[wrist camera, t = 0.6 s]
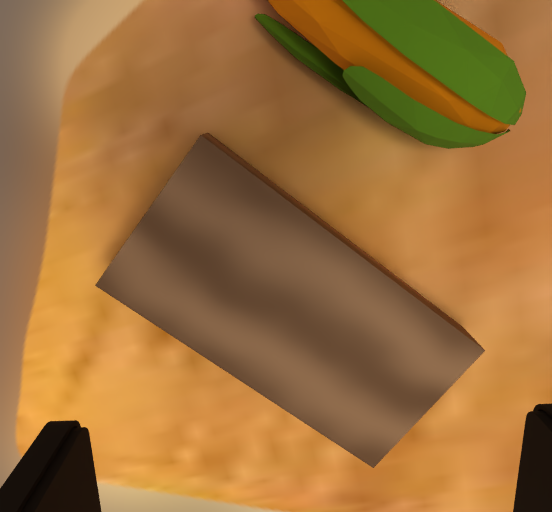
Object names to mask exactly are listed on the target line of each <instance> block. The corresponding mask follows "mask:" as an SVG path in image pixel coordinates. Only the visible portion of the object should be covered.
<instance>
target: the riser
mask: <svg viewBox="0 0 552 512" xmlns="http://www.w3.org/2000/svg"><path fill="white" fill-rule="evenodd" d="M95 286H97V287H98V288H100V289H101V290H103V291H104V292H106V293H107V294H109V295H110V296H112V297H114V298H115V299H117V300H118V301H120V302H121V303H123V304H124V305H126V306H127V307H129V308H130V309H132V310H133V311H135V312H136V313H138V314H139V315H141V316H142V317H144V318H146V319H147V320H149V321H150V322H152V323H153V324H155V325H156V326H158V327H159V328H161V329H162V330H164V331H165V332H167V333H168V334H170V335H171V336H173V337H174V338H176V339H178V340H179V341H181V342H182V343H184V344H185V345H187V346H188V347H190V348H191V349H193V350H194V351H196V352H197V353H199V354H200V355H202V356H203V357H205V358H206V359H208V360H210V361H211V362H213V363H214V364H216V365H217V366H219V367H220V368H222V369H223V370H225V371H226V372H228V373H229V374H231V375H232V376H234V377H235V378H237V379H239V380H240V381H242V382H243V383H245V384H246V385H248V386H249V387H251V388H252V389H254V390H255V391H257V392H258V393H260V394H261V395H263V396H264V397H266V398H267V399H269V400H271V401H272V402H274V403H275V404H277V405H278V406H280V407H281V408H283V409H284V410H286V411H287V412H289V413H290V414H292V415H293V416H295V417H296V418H298V419H299V420H301V421H303V422H304V423H306V424H307V425H309V426H310V427H312V428H313V429H315V430H316V431H318V432H319V433H321V434H322V435H324V436H325V437H327V438H328V439H330V440H331V441H333V442H335V443H336V444H338V445H339V446H341V447H342V448H344V449H345V450H347V451H348V452H350V453H351V454H353V455H354V456H356V457H357V458H359V459H360V460H362V461H363V462H365V463H367V464H368V465H370V466H371V467H373V468H374V467H375V466H376V465H377V464H378V463H379V462H380V461H381V459H382V458H383V457H384V456H385V455H386V454H387V453H388V452H389V451H390V450H391V449H392V448H393V447H394V446H395V445H396V444H397V443H398V442H399V441H400V440H401V438H402V437H403V436H404V435H405V434H406V433H407V432H408V431H409V430H410V429H411V428H412V427H413V426H414V425H415V424H416V423H417V422H418V421H419V420H420V419H421V417H422V416H423V415H424V414H425V413H426V412H427V411H428V410H429V409H430V408H431V407H432V406H433V405H434V404H435V403H436V402H437V401H438V400H439V399H440V397H441V396H442V395H443V394H444V393H445V392H446V391H447V390H448V389H449V388H450V387H451V386H452V385H453V384H454V383H455V382H456V381H457V380H458V379H459V378H460V376H461V375H462V374H463V373H464V372H465V371H466V370H467V369H468V368H469V367H470V366H471V365H472V364H473V363H474V362H475V361H476V360H477V359H478V358H479V357H480V355H481V354H482V353H483V352H484V351H485V350H484V349H483V348H482V347H481V346H480V345H479V344H478V343H477V341H476V340H475V339H474V338H473V337H472V336H471V335H470V334H469V333H468V332H467V331H466V330H465V329H464V328H463V327H462V326H461V325H459V324H458V323H457V322H456V321H454V320H453V319H452V318H450V317H449V316H448V315H446V314H445V313H444V312H442V311H441V310H440V309H438V308H437V307H436V306H435V305H433V304H432V303H431V302H429V301H428V300H427V299H425V298H424V297H423V296H421V295H420V294H419V293H417V292H416V291H415V290H414V289H412V288H411V287H410V286H408V285H407V284H406V283H404V282H403V281H402V280H400V279H399V278H398V277H397V276H395V275H394V274H393V273H391V272H390V271H389V270H387V269H386V268H385V267H383V266H382V265H381V264H379V263H378V262H377V261H376V260H374V259H373V258H372V257H370V256H369V255H368V254H366V253H365V252H364V251H362V250H361V249H360V248H358V247H357V246H356V245H355V244H353V243H352V242H351V241H349V240H348V239H347V238H345V237H344V236H343V235H341V234H340V233H339V232H337V231H336V230H335V229H334V228H332V227H331V226H330V225H328V224H327V223H326V222H324V221H323V220H322V219H320V218H319V217H318V216H316V215H315V214H314V213H313V212H311V211H310V210H309V209H307V208H306V207H305V206H303V205H302V204H301V203H299V202H298V201H297V200H295V199H294V198H293V197H292V196H290V195H289V194H288V193H286V192H285V191H284V190H282V189H281V188H280V187H278V186H277V185H276V184H274V183H273V182H272V181H271V180H269V179H268V178H267V177H265V176H264V175H263V174H261V173H260V172H259V171H257V170H256V169H255V168H253V167H252V166H251V165H250V164H248V163H247V162H246V161H244V160H243V159H242V158H240V157H239V156H238V155H236V154H235V153H234V152H232V151H231V150H230V149H229V148H227V147H226V146H225V145H223V144H222V143H221V142H219V141H218V140H217V139H215V138H214V137H213V136H211V135H210V134H209V133H206V134H202V135H200V137H199V138H198V140H197V141H196V143H195V144H194V145H193V147H192V148H191V150H190V151H189V153H188V154H187V155H186V157H185V158H184V160H183V161H182V163H181V164H180V165H179V167H178V168H177V170H176V171H175V172H174V174H173V175H172V177H171V178H170V180H169V181H168V182H167V184H166V185H165V187H164V188H163V190H162V191H161V192H160V194H159V195H158V197H157V198H156V200H155V201H154V202H153V204H152V205H151V207H150V208H149V209H148V211H147V212H146V214H145V215H144V217H143V218H142V219H141V221H140V222H139V224H138V225H137V227H136V228H135V229H134V231H133V232H132V234H131V235H130V237H129V238H128V239H127V241H126V242H125V244H124V245H123V247H122V248H121V249H120V251H119V252H118V254H117V255H116V256H115V258H114V259H113V261H112V262H111V264H110V265H109V266H108V268H107V269H106V271H105V272H104V274H103V275H102V276H101V278H100V279H99V281H98V282H97V284H96V285H95Z"/></svg>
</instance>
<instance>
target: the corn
mask: <svg viewBox="0 0 552 512" xmlns="http://www.w3.org/2000/svg"><path fill="white" fill-rule="evenodd" d="M268 2H269V3H270V4H271V5H272V7H273V8H274V9H275V10H276V11H277V13H278V14H279V15H281V16H282V17H283V18H284V19H285V20H286V21H287V22H289V23H290V24H291V25H292V26H293V27H294V28H295V29H296V30H298V31H299V32H300V33H301V34H302V35H303V36H304V37H305V38H307V39H308V40H309V41H310V42H311V43H312V44H313V45H312V44H311V43H309V42H307V41H306V40H304V39H303V38H301V37H300V36H298V35H297V34H295V33H294V32H292V31H291V30H289V29H288V28H286V27H285V26H284V25H282V24H281V23H279V22H277V21H276V20H274V19H272V18H271V17H269V16H267V15H265V14H256V15H255V18H256V19H257V20H258V21H259V22H260V24H261V25H262V26H263V27H264V28H265V29H266V30H267V31H268V32H269V33H270V34H271V35H272V36H273V37H274V38H275V39H276V40H277V41H278V42H279V43H280V44H281V45H283V46H284V47H285V48H286V49H287V50H288V51H289V52H290V53H291V54H292V55H293V56H294V57H295V58H297V59H298V60H300V61H301V62H302V63H304V64H305V65H306V66H308V67H309V68H311V69H312V70H313V71H315V72H316V73H317V74H319V75H320V76H322V77H323V78H324V79H326V80H327V81H329V82H330V83H331V84H333V85H334V86H335V87H337V88H338V89H340V90H341V91H343V92H344V93H346V94H348V95H349V96H351V97H353V98H354V99H356V100H358V101H359V102H361V103H362V104H364V105H366V106H367V107H369V108H370V109H372V110H373V111H374V112H375V113H376V114H378V115H379V116H380V117H381V118H382V119H384V120H385V121H386V122H388V123H389V124H391V125H393V126H395V127H396V128H398V129H400V130H402V131H403V132H405V133H407V134H409V135H410V136H412V137H414V138H416V139H418V140H419V141H421V142H423V143H425V144H428V145H433V146H438V147H443V148H448V149H449V148H463V147H475V146H479V145H483V144H485V143H487V142H489V141H491V140H493V139H495V138H497V137H499V136H501V135H503V134H505V133H507V132H509V131H510V130H509V129H508V130H507V131H506V132H505V133H501V132H504V131H505V130H506V129H507V128H508V127H509V126H510V125H515V124H516V122H517V121H518V119H519V117H520V116H521V114H522V110H523V105H524V100H525V96H526V91H525V89H524V86H523V84H522V81H521V78H520V76H519V73H518V71H517V68H516V66H515V63H514V61H513V60H512V59H510V58H509V57H508V56H507V54H506V51H505V49H504V47H503V45H502V43H501V42H499V41H498V40H496V39H495V38H493V37H491V36H490V35H488V34H487V33H485V32H484V31H482V30H481V29H479V28H478V27H476V26H475V25H473V24H471V23H470V22H468V21H467V20H465V19H464V18H462V17H461V16H459V15H458V14H456V13H455V12H453V11H451V10H450V9H448V8H447V7H445V6H444V5H442V4H441V3H439V2H438V1H436V0H268ZM314 45H315V46H316V47H315V46H314ZM498 133H501V134H498Z"/></svg>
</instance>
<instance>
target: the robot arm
mask: <svg viewBox="0 0 552 512" xmlns="http://www.w3.org/2000/svg"><path fill="white" fill-rule="evenodd" d="M0 512H101V506H100V501H99V493H98V487H97V481H96V474H95V468H94V461H93V455H92V448H91V442H90V436H89V431H88V429H87V428H86V427H81V426H80V424H79V422H78V421H76V420H75V421H50V422H48V423H47V424H46V425H45V426H44V428H43V429H42V430H41V432H40V433H39V435H38V436H37V438H36V439H35V440H34V442H33V443H32V445H31V446H30V447H29V449H28V450H27V452H26V453H25V454H24V456H23V457H22V459H21V460H20V462H19V463H18V464H17V466H16V467H15V469H14V470H13V471H12V473H11V474H10V476H9V477H8V478H7V480H6V481H5V483H4V484H3V486H2V487H1V488H0ZM513 512H552V404H538V405H536V406H535V408H534V410H533V411H531V412H528V414H527V416H526V421H525V429H524V436H523V443H522V451H521V458H520V465H519V473H518V480H517V487H516V495H515V502H514V509H513Z"/></svg>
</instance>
